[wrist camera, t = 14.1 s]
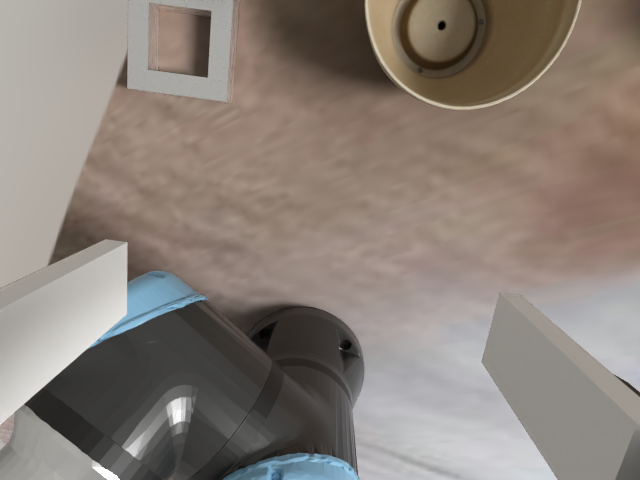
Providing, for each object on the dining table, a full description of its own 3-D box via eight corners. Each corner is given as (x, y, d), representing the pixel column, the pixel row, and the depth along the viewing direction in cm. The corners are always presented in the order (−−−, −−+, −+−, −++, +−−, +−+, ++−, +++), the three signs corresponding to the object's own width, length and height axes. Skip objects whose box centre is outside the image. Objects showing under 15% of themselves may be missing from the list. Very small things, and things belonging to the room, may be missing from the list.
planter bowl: (336, 87, 42) (336, 72, 32) (389, -87, 38) (410, -170, 28) (480, 135, 43) (527, 136, 33) (547, -31, 39) (626, -91, 28)
